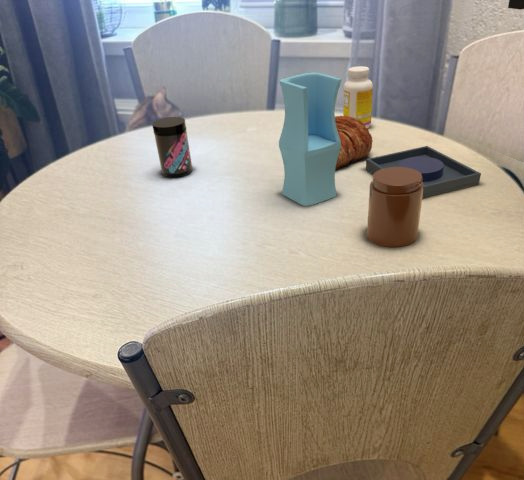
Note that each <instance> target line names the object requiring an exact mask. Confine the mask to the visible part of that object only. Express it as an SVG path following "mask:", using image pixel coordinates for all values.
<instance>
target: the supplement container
mask: <svg viewBox="0 0 524 480" xmlns="http://www.w3.org/2000/svg"><path fill="white" fill-rule="evenodd" d="M151 125H152V130H153V135H154V140H155V145H156V151H157V155H158V159H159V164H160V170H161V173H162V174H163V176H165V177H167V178H180V177H181V178H182V177H184V176H187V175H188V174H189V175H190V173H191V172H192V170H193V163H192V157H191V150H190V144H189V137H188V131H187V124H186V119H185V118H183V117H181V116H167V117H163V118H159V119H156V120H154V121H152V123H151Z"/></svg>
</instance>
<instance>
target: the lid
mask: <svg viewBox="0 0 524 480" xmlns="http://www.w3.org/2000/svg"><path fill="white" fill-rule="evenodd" d="M398 167H406V168H411V169H414V170H417V171H418V172H420V173H421V175H422V179H423V181H422V182H427V181H433V180H436V179H439V178H440V177H441V176H442V175H443V169H444V164H443V162H442V161H440V160H438V159H435V158H431V157H410V158H406V159H403V160H401V161H400V162H399V164H398Z"/></svg>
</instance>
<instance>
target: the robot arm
mask: <svg viewBox="0 0 524 480" xmlns="http://www.w3.org/2000/svg"><path fill="white" fill-rule="evenodd" d="M507 5H508V6H507V9H511V10H524V0H508V4H507Z"/></svg>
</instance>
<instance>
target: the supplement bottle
mask: <svg viewBox="0 0 524 480" xmlns="http://www.w3.org/2000/svg"><path fill="white" fill-rule="evenodd" d="M369 74H370V67H368V66H365V65H364V66H363V65H362V66H351V67H349V68H348V71H347V76H348V80H346V81H345V82H344V84H343V104H342V105H343V109H342V111H343V112H342V113H343V114H342V116H349V117H353V118H356V119H358V120H360V121H361V122H362V123H363V124H364V125H365V127H366V129H367V130H368V129H369V128H370V127H371V125H372V111H373V110H372V109H373V91H374V89H373V88H374V85H373V82H372V80H371V79H369Z"/></svg>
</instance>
